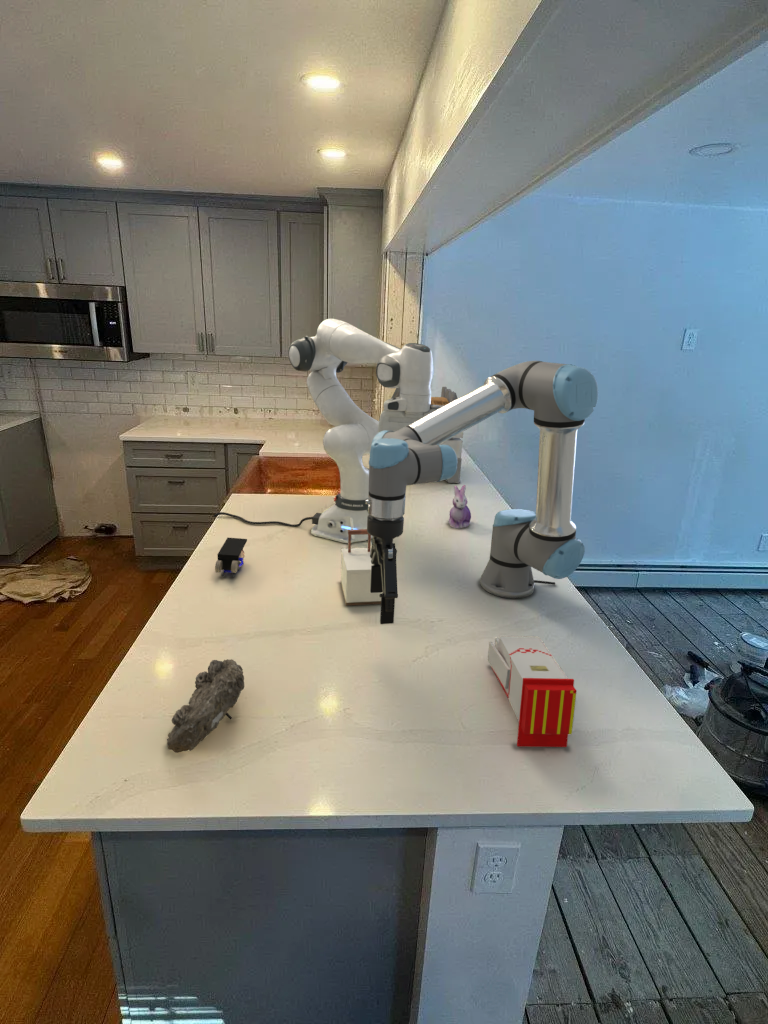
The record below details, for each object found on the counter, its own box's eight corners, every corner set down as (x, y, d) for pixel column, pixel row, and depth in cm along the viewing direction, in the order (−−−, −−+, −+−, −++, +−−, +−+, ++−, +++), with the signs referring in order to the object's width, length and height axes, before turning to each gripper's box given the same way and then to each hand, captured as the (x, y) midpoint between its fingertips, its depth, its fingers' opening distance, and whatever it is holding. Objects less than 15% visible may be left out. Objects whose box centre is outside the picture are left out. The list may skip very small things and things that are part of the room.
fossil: (192, 660, 117) (244, 628, 112) (224, 691, 120) (276, 661, 115) (142, 746, 98) (202, 712, 93) (182, 779, 101) (242, 748, 96)
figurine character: (238, 584, 162) (249, 557, 175) (236, 562, 158) (247, 536, 172) (215, 584, 161) (227, 556, 175) (212, 561, 158) (225, 535, 171)
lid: (341, 551, 160) (341, 526, 158) (374, 550, 162) (375, 525, 160) (346, 573, 147) (347, 546, 145) (382, 572, 149) (383, 545, 146)
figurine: (456, 530, 205) (460, 491, 199) (441, 521, 213) (444, 483, 208) (477, 527, 209) (481, 488, 204) (461, 518, 217) (465, 480, 212)
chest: (340, 582, 163) (341, 552, 160) (373, 581, 165) (374, 551, 161) (346, 605, 150) (346, 573, 147) (381, 604, 152) (382, 572, 149)
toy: (536, 619, 129) (586, 686, 99) (531, 673, 131) (578, 754, 102) (483, 618, 128) (517, 685, 99) (479, 672, 131) (511, 753, 102)
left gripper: (451, 403, 162) (447, 451, 167) (380, 400, 163) (378, 447, 168) (452, 407, 156) (448, 456, 161) (378, 403, 157) (376, 452, 162)
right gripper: (359, 496, 127) (357, 581, 134) (377, 538, 104) (372, 638, 111) (392, 495, 128) (388, 580, 135) (417, 537, 105) (410, 636, 112)
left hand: (412, 451), depth 164 cm, fingers open, 8 cm apart
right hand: (381, 606), depth 123 cm, fingers open, 13 cm apart
